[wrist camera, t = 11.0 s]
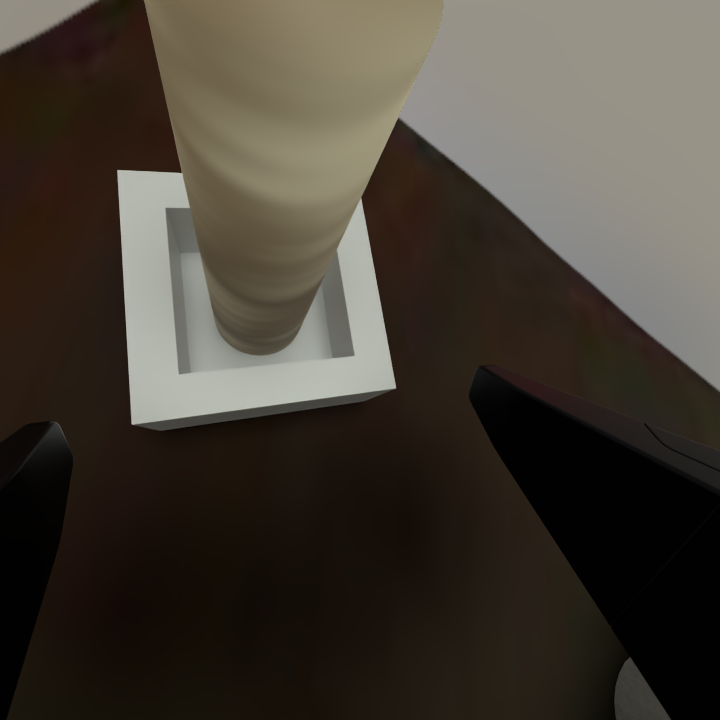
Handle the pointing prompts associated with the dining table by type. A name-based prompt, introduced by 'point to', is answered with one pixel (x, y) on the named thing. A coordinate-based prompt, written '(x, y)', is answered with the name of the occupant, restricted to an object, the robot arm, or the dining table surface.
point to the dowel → (281, 138)
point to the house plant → (635, 696)
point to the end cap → (207, 347)
